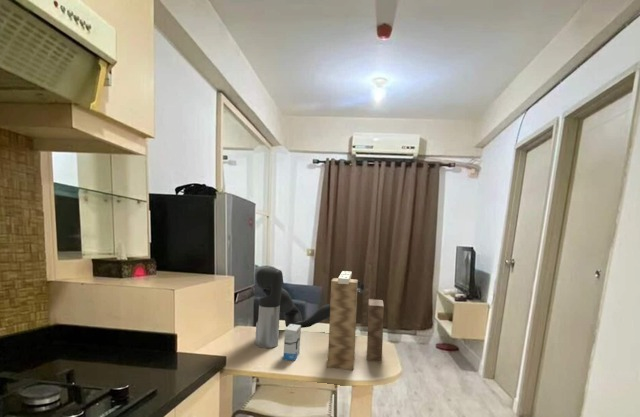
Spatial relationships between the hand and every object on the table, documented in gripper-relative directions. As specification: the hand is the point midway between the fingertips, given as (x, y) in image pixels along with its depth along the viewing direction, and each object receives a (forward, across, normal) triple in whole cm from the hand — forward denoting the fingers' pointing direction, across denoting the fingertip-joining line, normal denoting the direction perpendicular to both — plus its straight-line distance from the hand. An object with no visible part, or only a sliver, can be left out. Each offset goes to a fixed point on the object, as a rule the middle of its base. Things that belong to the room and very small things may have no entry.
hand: (348, 282), depth 152 cm
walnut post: (-9, -12, -28) cm, 32 cm away
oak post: (+1, 0, -34) cm, 34 cm away
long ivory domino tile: (+14, 0, -4) cm, 15 cm away
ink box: (0, +21, -33) cm, 39 cm away
